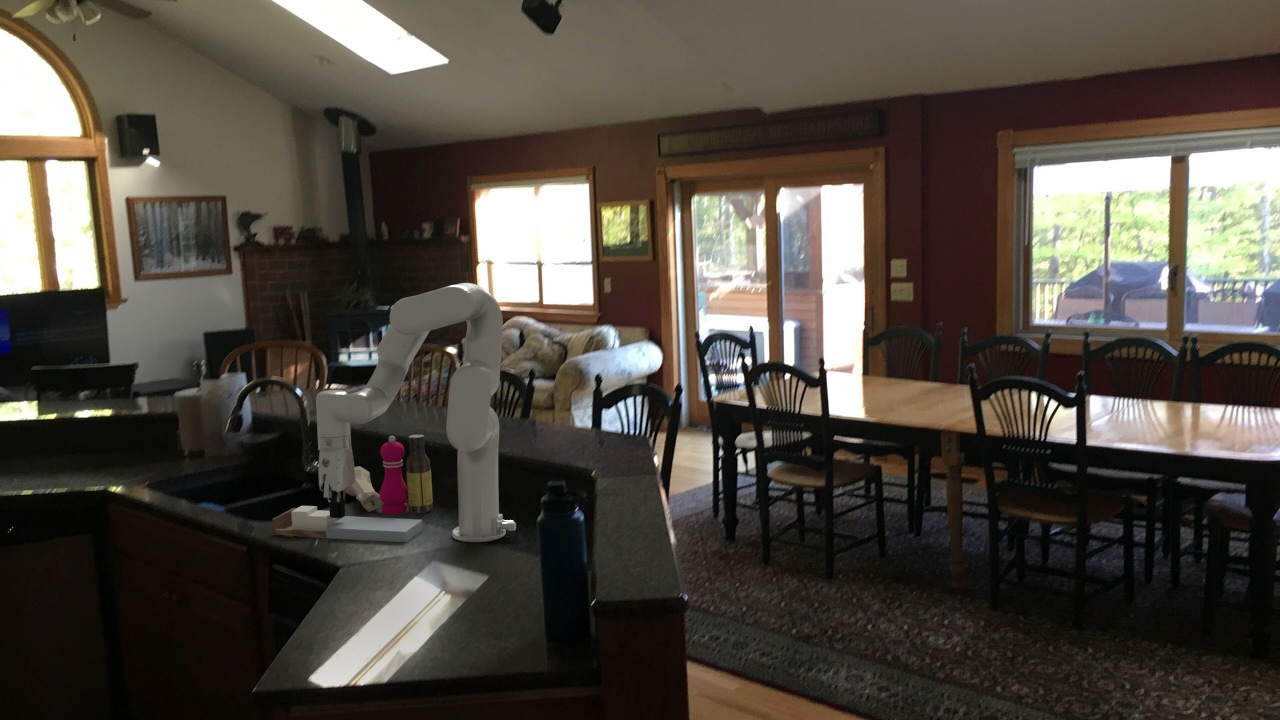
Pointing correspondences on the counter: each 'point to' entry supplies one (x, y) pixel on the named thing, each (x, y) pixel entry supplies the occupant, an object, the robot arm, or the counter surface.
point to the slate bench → (374, 529)
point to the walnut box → (284, 526)
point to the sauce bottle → (418, 477)
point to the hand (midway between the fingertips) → (337, 516)
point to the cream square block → (301, 517)
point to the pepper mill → (393, 479)
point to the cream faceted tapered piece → (364, 490)
